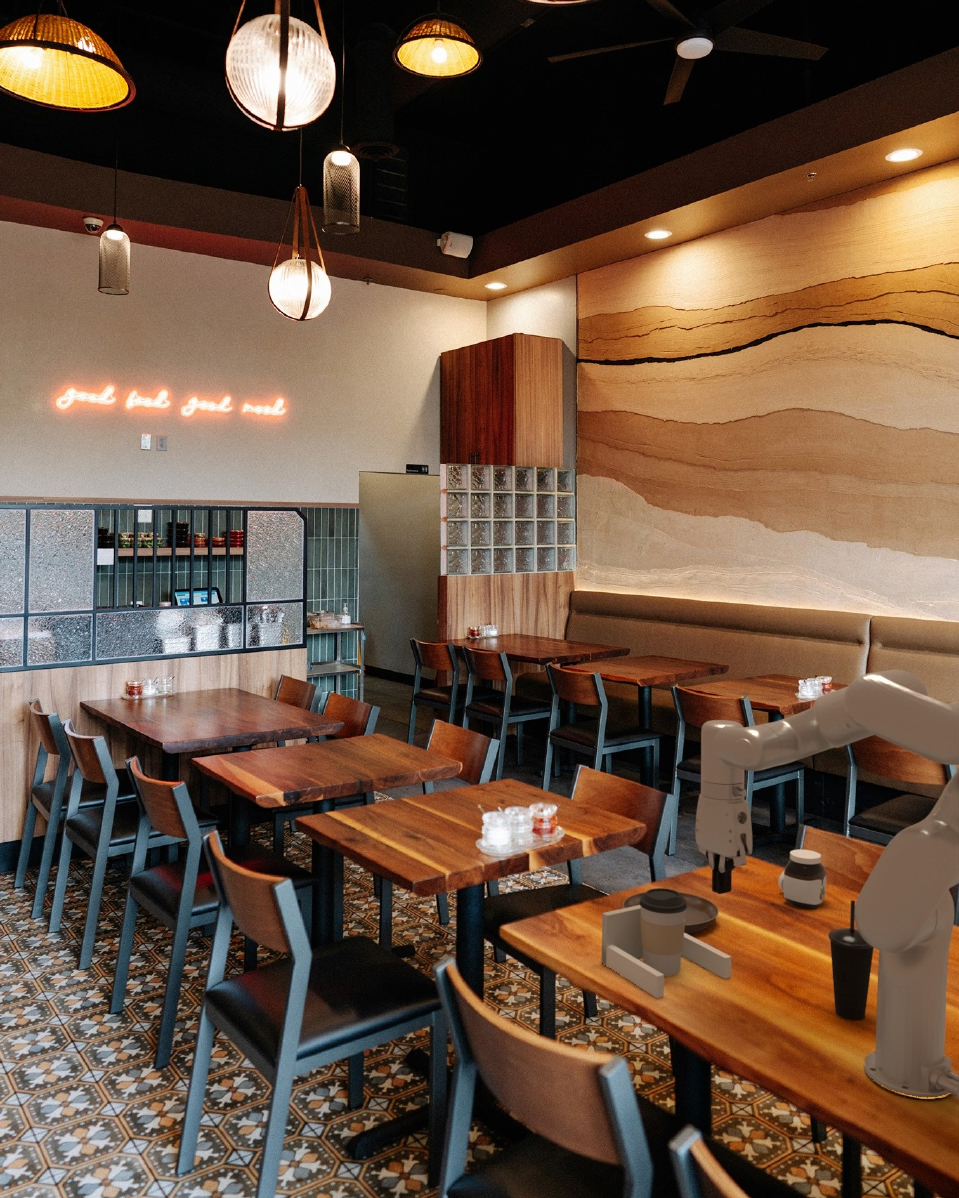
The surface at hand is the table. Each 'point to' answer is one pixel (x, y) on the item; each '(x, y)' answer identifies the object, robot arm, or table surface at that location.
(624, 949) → the box
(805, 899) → the spread jar
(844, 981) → the drinking cup
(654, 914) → the coffee cup
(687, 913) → the plant saucer
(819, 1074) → the table surface
